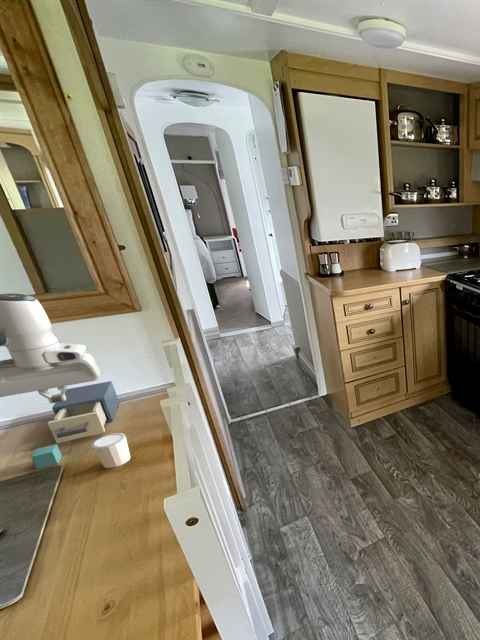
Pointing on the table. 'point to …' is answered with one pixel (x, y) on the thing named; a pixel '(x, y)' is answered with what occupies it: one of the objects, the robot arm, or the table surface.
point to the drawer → (78, 421)
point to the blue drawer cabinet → (91, 398)
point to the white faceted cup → (112, 450)
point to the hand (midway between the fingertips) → (58, 401)
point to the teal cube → (46, 456)
